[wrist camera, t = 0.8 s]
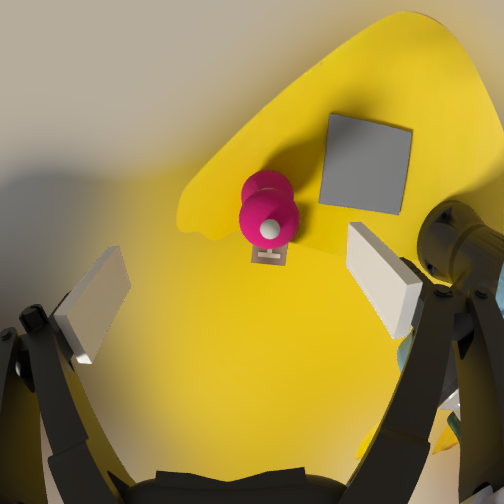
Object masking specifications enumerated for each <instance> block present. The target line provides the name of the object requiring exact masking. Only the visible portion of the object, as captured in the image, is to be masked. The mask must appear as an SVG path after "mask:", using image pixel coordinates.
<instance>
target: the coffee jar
mask: <svg viewBox="0 0 504 504" xmlns="http://www.w3.org/2000/svg"><path fill="white" fill-rule="evenodd" d="M447 422H448V424H449V426H450V427H451V429H452V430H453V432H454V434H455V435H456V437H457V439H458V441H459V443H460V447H461V425H460V420H459V419H458V417H457V416H456V414H455V413H454V411H453V412H452V413H451V414H450V415H449V416H448V418H447Z"/></svg>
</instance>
